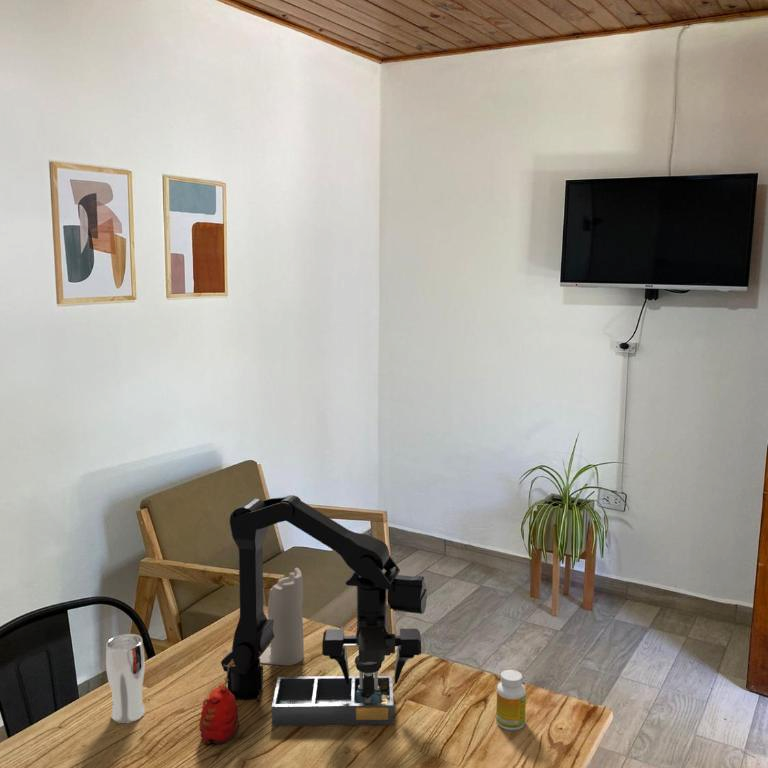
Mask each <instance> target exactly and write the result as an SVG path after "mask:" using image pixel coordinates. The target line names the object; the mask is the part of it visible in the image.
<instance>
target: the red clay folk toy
mask: <svg viewBox="0 0 768 768" xmlns="http://www.w3.org/2000/svg"><path fill="white" fill-rule="evenodd" d="M233 660H234V659H232V661H231V662H230V663H229V664H228V666H226V665H223V666H226V667H228V672H229V668H230V667H234V666H236V665H234V661H233ZM228 672H226V676H225V677H224V678H223V680H224V681H225V683H224V685H223V684H222V685H219V687H217V688H213V689H212V690H211V691H210V693H209V694H208V695H207V697H206V698H205V699H204V700H203V702H202V710H201V713H200V714H201V715H200V719H199V728H198V730H199V731H200V737H201V738H202V742H203V744H204V745H210V744H212V743H213V744H214V745H220V744H223V743H226V742H229V741H230V740H231V739H232V738H236V737H237V735H238V733H239V732H240V731H239V729H240V720H239V712H238V711H239V709H238V705H237V704H238V703H237V699H235V696H234V695H233V694H232V693H231V692H230V691H229V690H228V686H227V682H228Z"/></svg>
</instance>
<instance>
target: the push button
mask: <svg viewBox="0 0 768 768" xmlns="http://www.w3.org/2000/svg"><path fill="white" fill-rule="evenodd" d="M354 664H355V668H356V670H358V671H359V676H360V685H358V689H357V692H356V703H383V702H386V701H387V703H389V700H384V699H381V698H389V696H387V697H386V695H381V688H379V686H378V676H379V671H380V669H381V668H382V664H383V662H381V663H377V662H367V663H362V662H360V661H359V654H358V655H357V656H356V657H355V658H354ZM363 676H364V680H363Z"/></svg>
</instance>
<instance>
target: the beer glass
mask: <svg viewBox="0 0 768 768" xmlns="http://www.w3.org/2000/svg"><path fill="white" fill-rule="evenodd" d="M105 649H106V650H105V667H106V668H105V669H106V675H107V676H106V677H107V680H108V684H109V688H110V693H111V696H112V710H111V719H113V720H114V721H116V722H120V723H127V722H132V723H134V722H133V721H135V722H137V721H139V720H140V719H142V718H143V717H144V715H145V712H146V708H145V705H144V702H143V701H144V700H143V685H144V677H145V668H146V667H145V664H146V663H145V650H144V643H143V638H142V636H141V635H138V634H135V633H127V634H119V635H115V636H114V637H112V638H110V639H108V641H107V642H106V643H105ZM142 716H143V717H142ZM141 717H142V718H141ZM138 719H139V720H138ZM113 720H112V721H113ZM136 720H137V721H136ZM114 721H113V722H114ZM116 722H115V723H116ZM120 723H119V724H120ZM127 724H128V723H127Z"/></svg>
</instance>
